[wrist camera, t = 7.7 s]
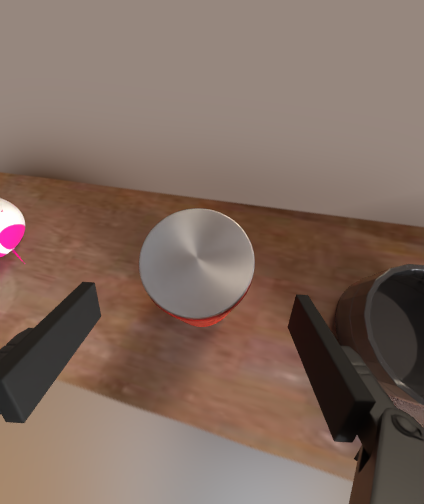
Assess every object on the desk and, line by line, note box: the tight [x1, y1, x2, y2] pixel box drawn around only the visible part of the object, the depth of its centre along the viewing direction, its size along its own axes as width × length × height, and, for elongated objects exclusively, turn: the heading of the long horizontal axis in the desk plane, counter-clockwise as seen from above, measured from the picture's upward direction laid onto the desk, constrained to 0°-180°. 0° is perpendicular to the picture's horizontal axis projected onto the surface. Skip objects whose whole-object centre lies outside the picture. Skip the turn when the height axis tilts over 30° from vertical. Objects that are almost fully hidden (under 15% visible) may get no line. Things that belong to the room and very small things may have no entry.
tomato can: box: [139, 208, 255, 327], centre depth 17 cm, size 7×7×12 cm
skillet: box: [335, 264, 424, 408], centre depth 20 cm, size 11×11×4 cm
